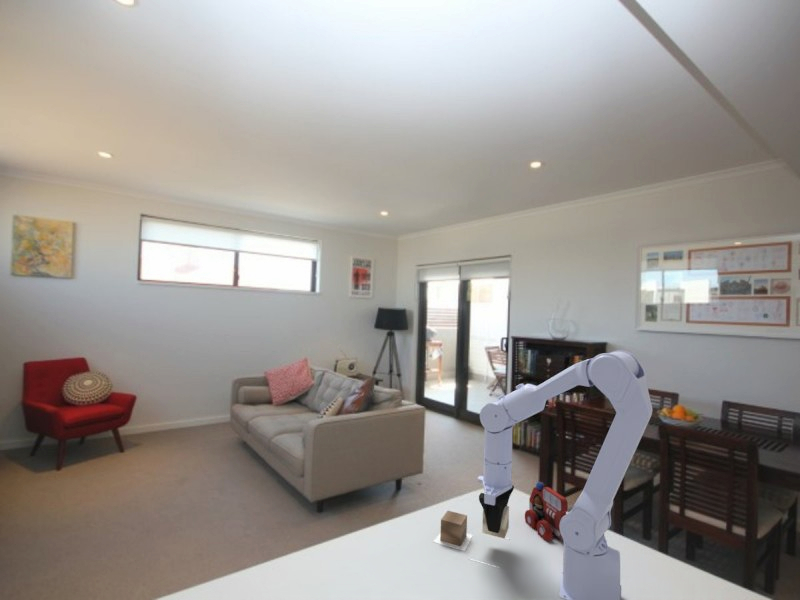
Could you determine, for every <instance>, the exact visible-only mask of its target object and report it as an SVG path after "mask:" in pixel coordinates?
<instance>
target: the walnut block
mask: <svg viewBox="0 0 800 600" xmlns="http://www.w3.org/2000/svg"><path fill="white" fill-rule="evenodd" d="M467 529H468V515H467V514H463V513H459V512H455V511H452V510H451V511H450V510H447V511H446V512H445V514H444V515H443V516H442V518H440V532H441V535H440V541H443V542H447V543H450V544H454V545H457V546H461V545H462V543H463V541H464V540H465V538H466V536H467V533H468V532H467V531H468V530H467Z"/></svg>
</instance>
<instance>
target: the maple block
mask: <svg viewBox="0 0 800 600" xmlns="http://www.w3.org/2000/svg"><path fill="white" fill-rule="evenodd" d="M509 522H510V506H508V505H507V506H506V507H505V508H504V511H503V515H502V520H501V526H500V530H499V532H498V533H495V532H491V531H488V528H487V523H486V517H485V513H484V510H483V509H482V528H481V529H482V531H481V532H482V534H486V535H489V536H493V537H497V538H501V539H505V540H506V536H507V533H508V531H509V529H510V528H509V524H510V523H509Z"/></svg>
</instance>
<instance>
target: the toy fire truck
mask: <svg viewBox="0 0 800 600" xmlns="http://www.w3.org/2000/svg"><path fill="white" fill-rule="evenodd" d="M528 500H529V503H528V504H529V506H528V507H529V508H528V509H527V510H526V511H525V513H524V519H525V523H526V524H527V525H528V526H529V528H531V529H536V532H537V535H538V536H539V537H540V538H541V539H542V540H544V541H546V542H549V541H551V540H552V539H553V537H554V536H555V537H557V538H559V539H563V538H562V536H561V533H560V529H559V524H560V521H561V519H562V517H563V516H564V515H566V514H567V512H568V510H569V508H568V504H569V503H568V500H567V498H566V497H564V496H563V495H561V494H559V492H557V491H555V490H554V489H552V488H551V487H549V486H546V485H545V483H544V482H542V481H538V482H537V483H536V485H535V486H534V487H533V489H532V491H531V493H530V496H529V499H528Z"/></svg>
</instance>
